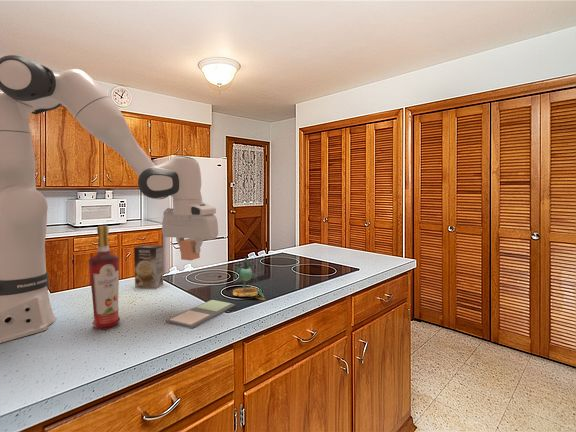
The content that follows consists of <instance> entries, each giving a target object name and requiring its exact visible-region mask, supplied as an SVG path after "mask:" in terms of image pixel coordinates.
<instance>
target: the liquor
mask: <svg viewBox="0 0 576 432" xmlns="http://www.w3.org/2000/svg"><path fill="white" fill-rule="evenodd" d="M96 227H97V228H96V231H97V232H96V233H97V236H98V241H97V254H95V255H94V256H92V257H91V258H90V259H88V268H89V269H88V270H89V279H90V286H91V287H90V288H91V295H92V296H91V297H92V307H93V308H92V309H93V322H92V325H93V326H94V327H96V328H97V329H99V330H106V329H110V328H113V327H114V326H116V325H117V324H118V323H119V322H120V321H121V317H120V316H119V285H120V284H119V283H120V281H119V280H120V279H119V278H120V257H118V255H116V254H112V253H111V252H110V244H109V237H108V236H109V232H110V231H109V225H98V226H96Z"/></svg>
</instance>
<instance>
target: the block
mask: <svg viewBox="0 0 576 432" xmlns="http://www.w3.org/2000/svg"><path fill="white" fill-rule="evenodd" d="M196 243H197V242H195V239H190V238H184V240H181V241H180V246H181V252H180V259H181V260H183V261H194V260H197V259H200V256H201V255H200V253H201V252H200V253H193V247H195V246H196ZM180 246H179V247H180Z"/></svg>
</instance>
